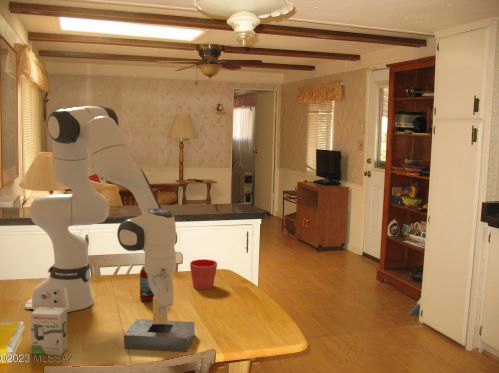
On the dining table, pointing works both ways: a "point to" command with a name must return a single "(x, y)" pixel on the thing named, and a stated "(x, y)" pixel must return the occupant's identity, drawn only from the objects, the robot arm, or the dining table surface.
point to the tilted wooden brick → (156, 316)
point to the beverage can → (145, 286)
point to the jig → (159, 335)
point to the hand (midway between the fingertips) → (160, 311)
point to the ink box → (48, 330)
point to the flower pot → (203, 273)
